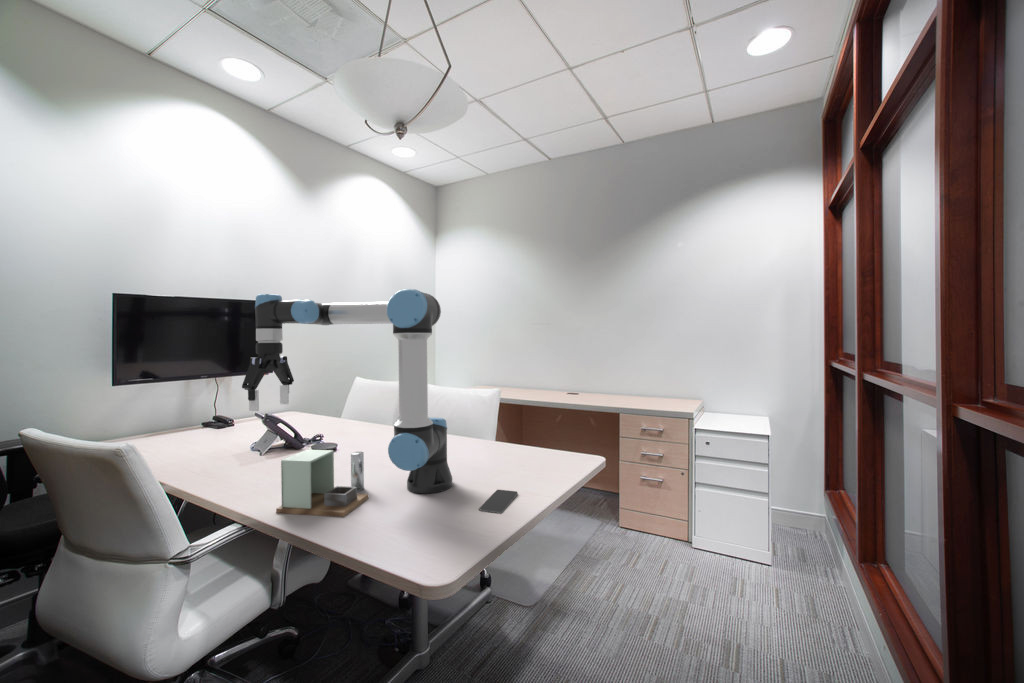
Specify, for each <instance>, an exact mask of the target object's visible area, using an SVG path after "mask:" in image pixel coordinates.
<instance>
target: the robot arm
mask: <svg viewBox="0 0 1024 683" xmlns="http://www.w3.org/2000/svg"><path fill="white" fill-rule="evenodd" d="M254 302H255V304H254V310H255V311H254V313H255V341H256V344H255V354H257V357H250V359H249V366H248V368H247V371H246V374H245V376H244V378H243V379H244V380H243V382H242V384H241V388H242V389H243V390H246V391H247V400H248V411H249V412H258V411H260V400H259V399H260V398H259V397H260V396H259V393H260V392H259V389H257V388H258V387H259V385H260V383H261V381H262V380H263V378H264V377H265V375H266V374H267V373H268V372H274V374H275V375H276V377H277V380H279V382H280V385H279V404H280V405H290V395H289V394H290V385H293V383H294V381H295V379H294V377H293V374H292V372H291V371H292V370H291V368H290V366H289V363H288V356H286V355H281V354H283V343H282V341H283V340H284V339H283V338H284V337H283V324H301V325H302V324H303V325H319V326H330V325H333V326H334V325H380V324H381V325H383V324H385V325H386V324H387V325H388V324H392V335H393V336H394V337H395V338H396V339H397V340H398V342H397V344H398V345H397V346H398V350H397V351H398V418H397V420H396V421H395V422H394V423H393V437H392V438H391V440H390V442H389V444H388V446H387V452H388V453H387V454H388V458H389V459H390V462H392V464H393V465H394V466H395V467H396V468H398V469H400V470H402V471H406V472H409V473H408V477H407V480H406V489H407V491H409V492H412V493H416V494H436V493H441V492H444V491H446V490H448V489H450V488H451V487H453V475H452V472H451V469H450V466H449V463H448V426H447V424H448V423H447V420H446V419H445V418H443V417H429V416H428V415H429V414H428V413H429V410H428V409H429V408H428V407H429V406H428V405H429V404H428V403H429V402H428V399H429V398H428V396H429V395H428V393H429V392H428V339H429V338H430V337H431V336H432V335H433V326H435V325H436V324H437V323H438V321H439V320H440V317H441V313H442V310H441V304H440V302H439V301H438V300H437V299H436V297H434V296H433V295H431V294H429V293H427V292H426V293H425V292H423V291H420V290H418V289H413V288H412V289H411V288H403V289H400V290H398V291H396V292H395V293H393V294H392V296H390V298H389V300H388V301H365V302H364V301H363V302H324V303H323V302H315V301H314V300H311V299H302V298H301V299H291V300H288V299H287V300H283V297H282V296H281V295H280V294H275V293H260V294H257V295H256V296H255V301H254Z"/></svg>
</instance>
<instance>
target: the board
mask: <svg viewBox="0 0 1024 683" xmlns="http://www.w3.org/2000/svg"><path fill="white" fill-rule="evenodd" d="M368 499H369V494H368V493H358V491H357V487H351V486H342V485H337V486H334V488H333V489H331V490H330V491H328V492H327V493H325V494H320V493H311V508H310V509H306V508H289V507H282V505H279V506H278V507H276V509H275V511H276V512H275V513H277V514H289V515H306V516H307V515H308V516H323V517H324V516H325V517H326V516H327V517H342V518H344V517H345V516H347V515H348V514H349V513H351V512H352V511H353V510H355V509H356V508H357V507H359V506H360V505H362V504H363V503H364V502H365V501H367V500H368Z"/></svg>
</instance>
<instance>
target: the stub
mask: <svg viewBox="0 0 1024 683" xmlns="http://www.w3.org/2000/svg"><path fill="white" fill-rule="evenodd" d="M364 460H365V459H364V451H354V452H351V453H350V487H357V492H361V491H363V490H364V489H365V467H364V466H365V462H364Z"/></svg>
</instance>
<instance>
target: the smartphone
mask: <svg viewBox="0 0 1024 683" xmlns="http://www.w3.org/2000/svg"><path fill="white" fill-rule="evenodd" d="M517 495H518V491H514V490H506V489H496V490H495V491H494V492H493V493H492V494H491V495H490V497H488V498H487V500H486V501H485V502H484V503H482V505H481V506H480V507H479V508H478V511H479V512H484V513H491V514H498V515H499V514H500V515H501V514H503V512H504V511H505V510H506V509H507V508H508V506H510V504H511V503H512V502H513V500H514V499H515V498H516V497H517Z"/></svg>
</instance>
